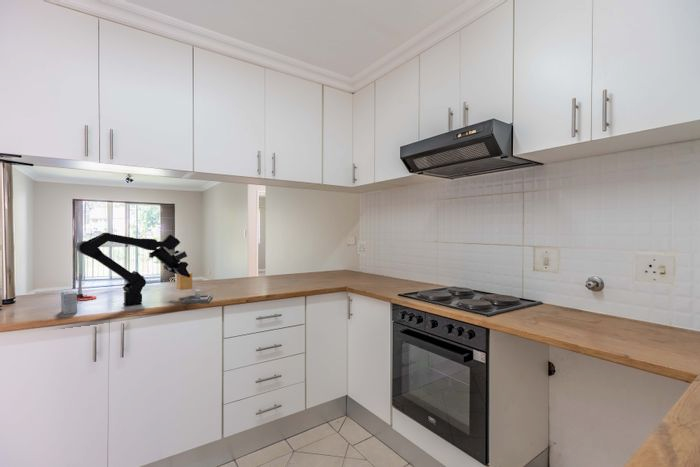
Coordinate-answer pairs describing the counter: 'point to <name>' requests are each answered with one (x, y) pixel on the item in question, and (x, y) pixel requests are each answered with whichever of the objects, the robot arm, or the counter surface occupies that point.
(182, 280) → the orange wooden block
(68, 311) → the medicine box
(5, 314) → the counter surface
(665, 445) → the counter surface
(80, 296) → the tow hook
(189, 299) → the post plate
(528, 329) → the counter surface
